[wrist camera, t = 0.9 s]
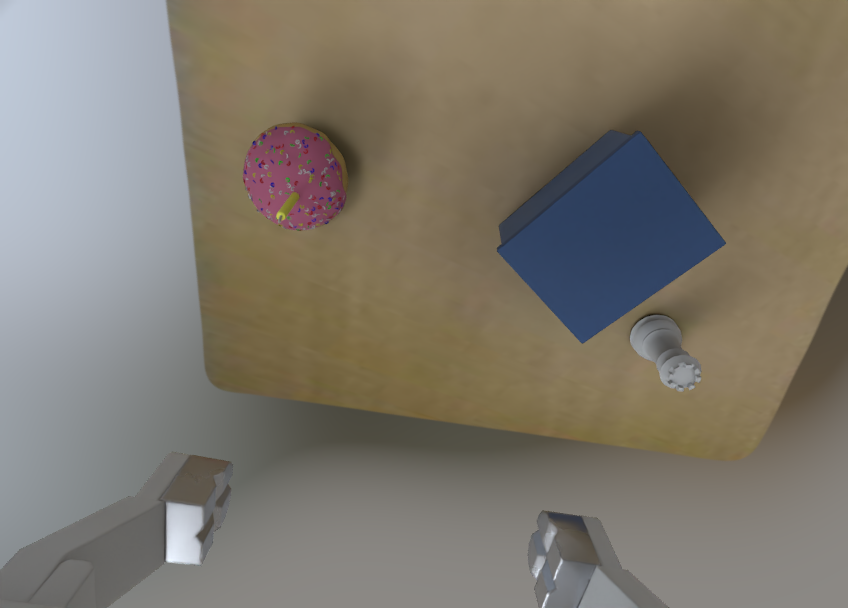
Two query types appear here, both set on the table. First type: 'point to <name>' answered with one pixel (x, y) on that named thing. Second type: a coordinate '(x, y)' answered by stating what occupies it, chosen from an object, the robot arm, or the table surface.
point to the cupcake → (296, 176)
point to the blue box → (606, 234)
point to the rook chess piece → (665, 351)
